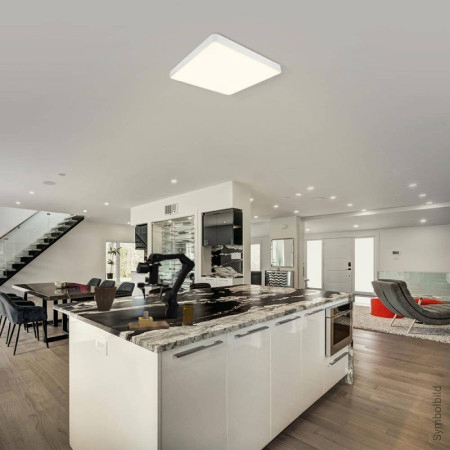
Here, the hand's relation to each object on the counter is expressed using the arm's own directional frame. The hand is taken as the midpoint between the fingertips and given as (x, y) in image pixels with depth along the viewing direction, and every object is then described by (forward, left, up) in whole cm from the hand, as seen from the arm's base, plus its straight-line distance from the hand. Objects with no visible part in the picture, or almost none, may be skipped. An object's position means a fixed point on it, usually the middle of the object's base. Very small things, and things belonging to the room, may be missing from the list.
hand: (152, 299), depth 181 cm
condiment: (-19, +18, -12) cm, 29 cm away
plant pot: (+27, -38, -12) cm, 48 cm away
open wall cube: (+6, +20, -10) cm, 23 cm away
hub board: (+4, +19, -12) cm, 23 cm away
